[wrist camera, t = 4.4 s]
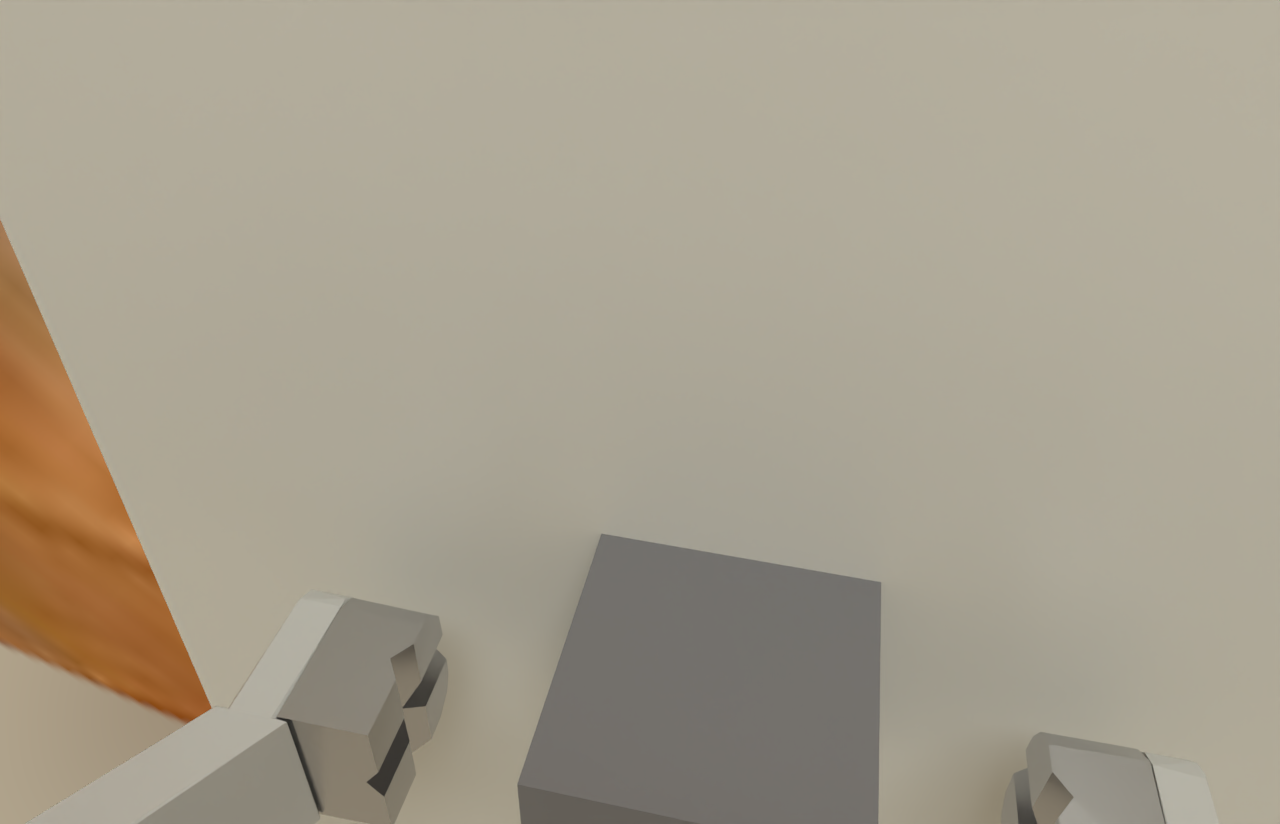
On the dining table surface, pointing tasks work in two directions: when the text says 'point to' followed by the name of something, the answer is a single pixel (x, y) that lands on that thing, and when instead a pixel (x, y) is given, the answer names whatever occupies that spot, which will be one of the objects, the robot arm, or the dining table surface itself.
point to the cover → (693, 374)
